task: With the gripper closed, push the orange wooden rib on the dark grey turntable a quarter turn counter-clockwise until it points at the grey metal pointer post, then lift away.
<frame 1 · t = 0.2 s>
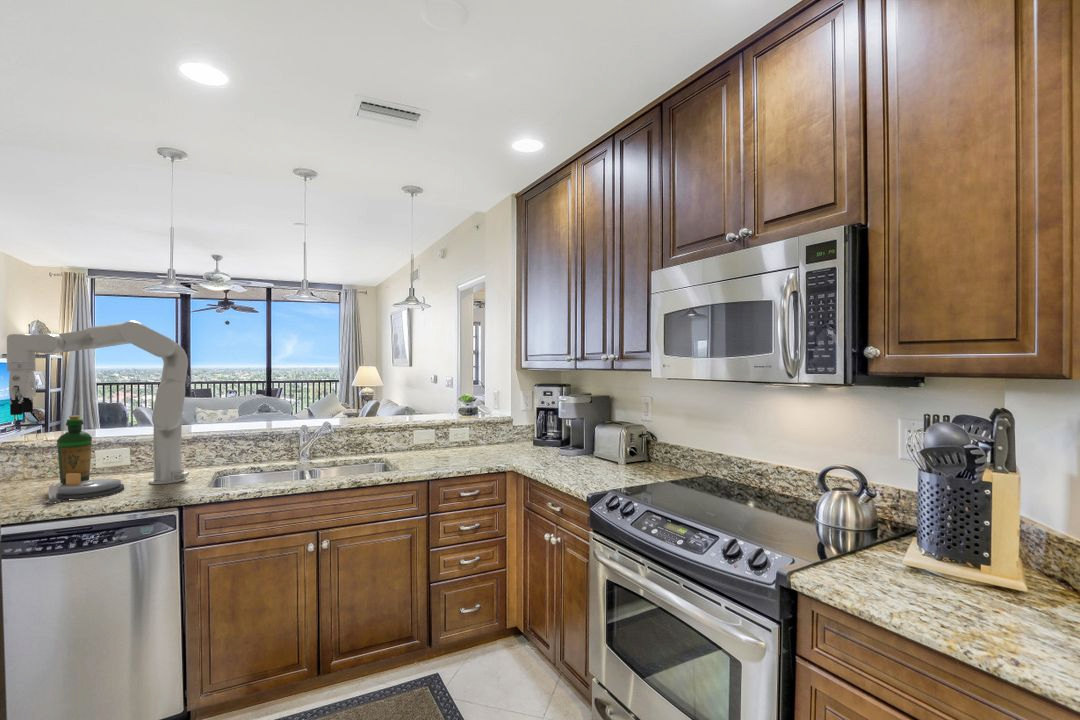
hand: (21, 413, 193), 31 cm above the countertop, tool pointing down, fingers open, 9 cm apart
pointer post: (53, 502, 185), on the countertop
turntable base: (88, 493, 198), on the countertop
turntable: (88, 481, 198), point 5 cm above the countertop, hinge at 0.0°
bottle: (75, 485, 211), on the countertop
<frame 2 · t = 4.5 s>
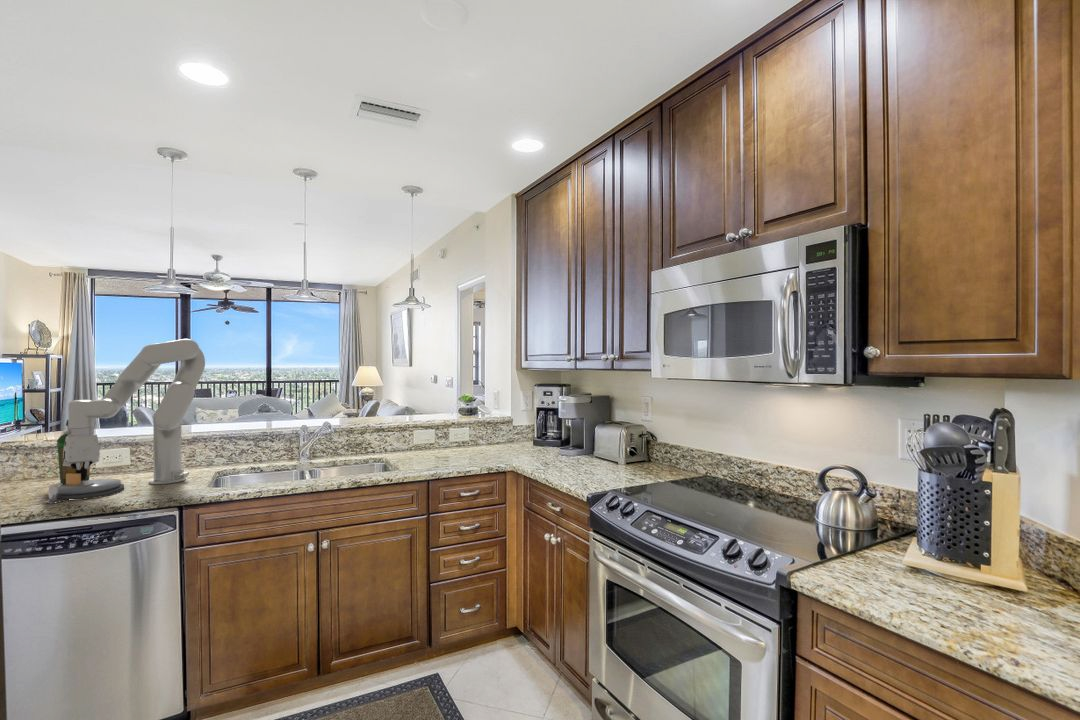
hand: (81, 479, 202), 5 cm above the countertop, tool pointing down, fingers closed
turntable: (88, 481, 198), point 5 cm above the countertop, hinge at 0.0°, touching gripper
everything else where it was.
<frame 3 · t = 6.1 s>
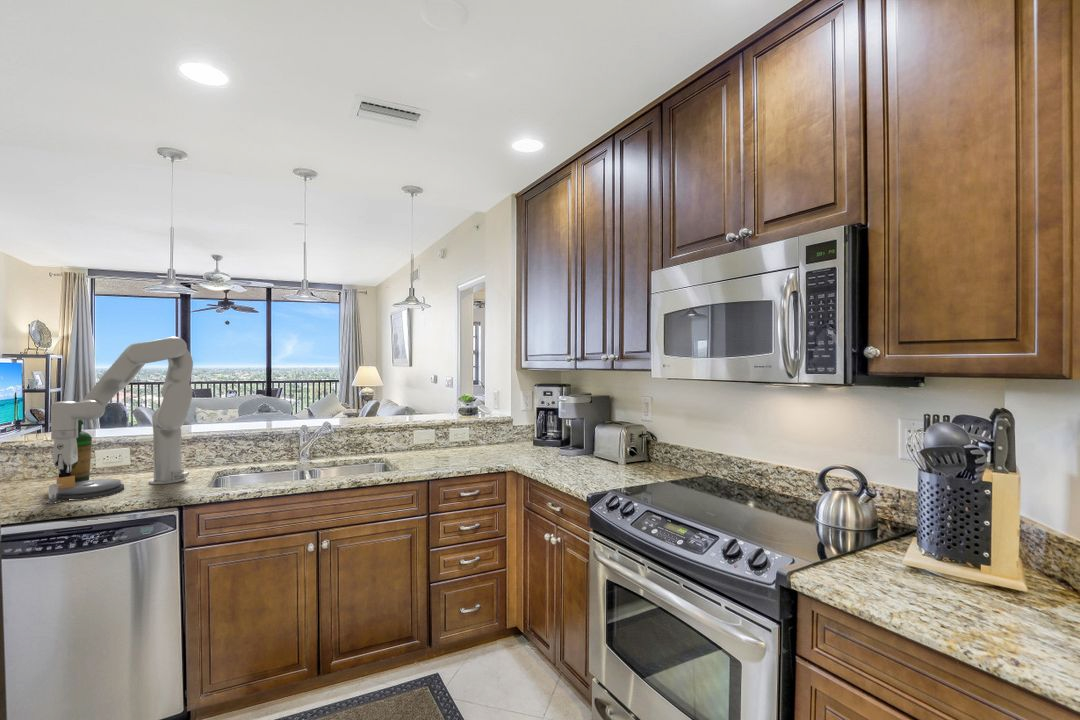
hand: (64, 483, 196), 4 cm above the countertop, tool pointing down, fingers closed
turntable: (88, 481, 198), point 5 cm above the countertop, hinge at 54.0°, touching gripper
everything else where it was.
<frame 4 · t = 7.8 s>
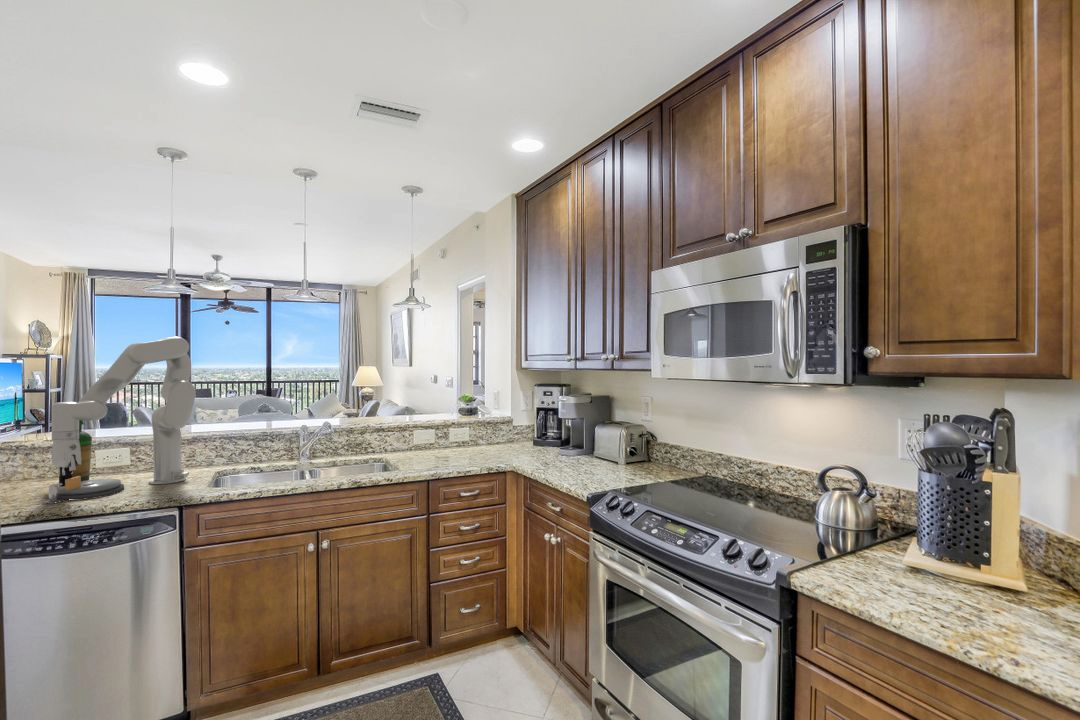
hand: (65, 485, 192), 5 cm above the countertop, tool pointing down, fingers closed
turntable: (88, 481, 198), point 5 cm above the countertop, hinge at 95.0°, touching gripper
everything else where it was.
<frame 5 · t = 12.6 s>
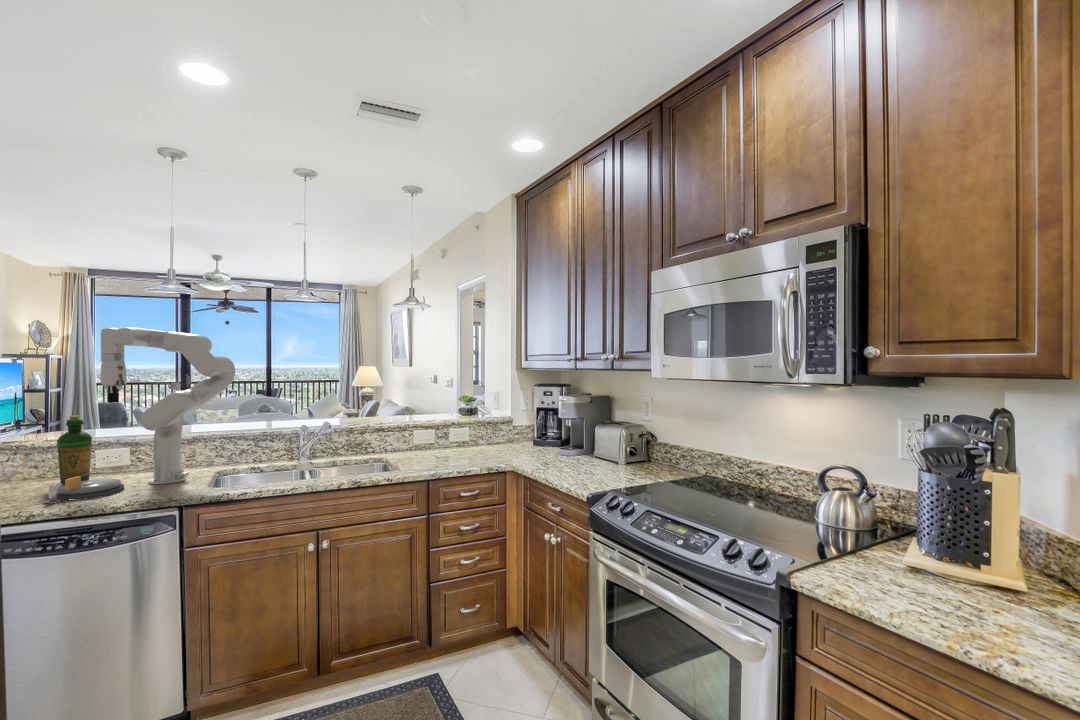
hand: (112, 402, 215), 33 cm above the countertop, tool pointing down, fingers closed
turntable: (88, 481, 198), point 5 cm above the countertop, hinge at 95.1°
everything else where it was.
at the end: turntable at +95° (first picture: +0°); bottle moved 0.2 cm from its start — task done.
